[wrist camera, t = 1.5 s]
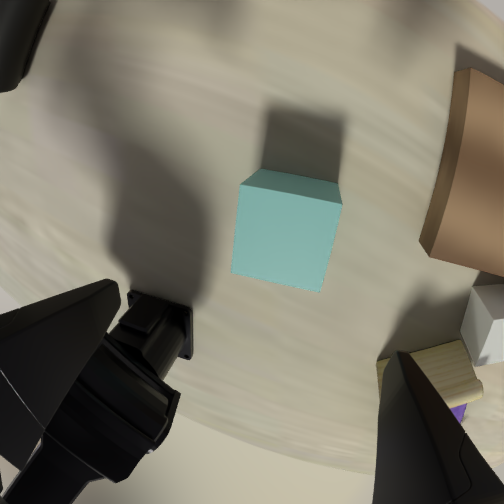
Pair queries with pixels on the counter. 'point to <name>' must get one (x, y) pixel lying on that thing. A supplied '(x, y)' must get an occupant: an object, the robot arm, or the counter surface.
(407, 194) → the counter surface
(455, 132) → the base block
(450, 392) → the toy sofa
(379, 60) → the counter surface
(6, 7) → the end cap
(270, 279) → the teal block
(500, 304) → the grey cube
